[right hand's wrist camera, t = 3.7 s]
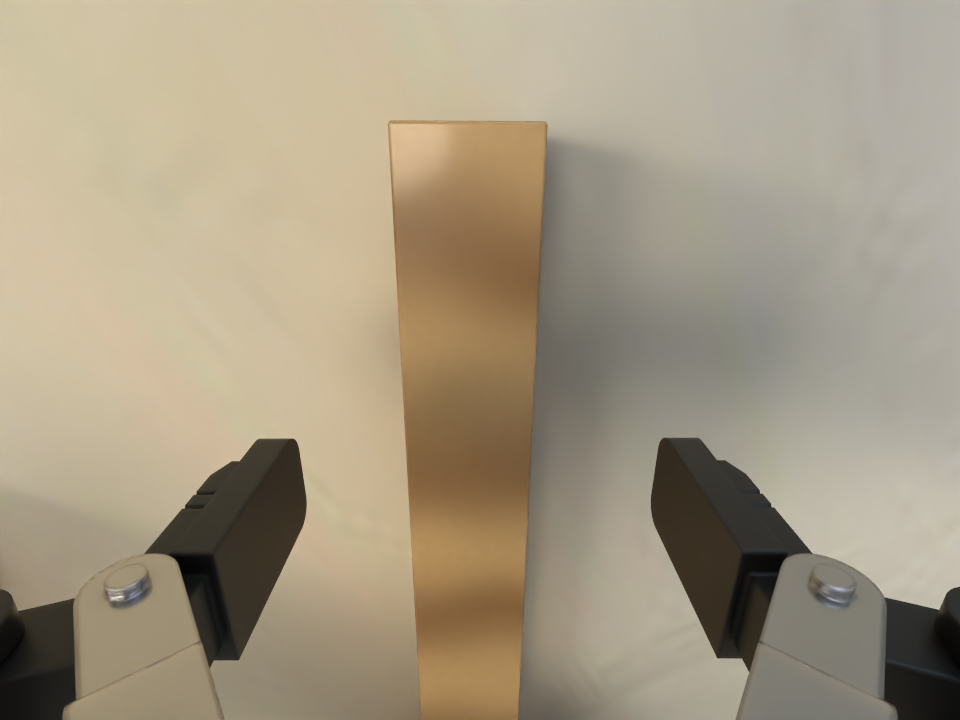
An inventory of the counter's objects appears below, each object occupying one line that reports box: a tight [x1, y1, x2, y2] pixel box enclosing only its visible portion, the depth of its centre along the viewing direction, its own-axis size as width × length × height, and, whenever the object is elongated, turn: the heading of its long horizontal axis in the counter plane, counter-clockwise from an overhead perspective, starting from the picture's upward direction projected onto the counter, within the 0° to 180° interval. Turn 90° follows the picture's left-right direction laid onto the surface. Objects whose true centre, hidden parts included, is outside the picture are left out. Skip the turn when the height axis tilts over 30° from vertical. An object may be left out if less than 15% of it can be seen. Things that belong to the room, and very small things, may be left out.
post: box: [388, 121, 547, 720], centre depth 28 cm, size 51×4×8 cm, turn 0°
